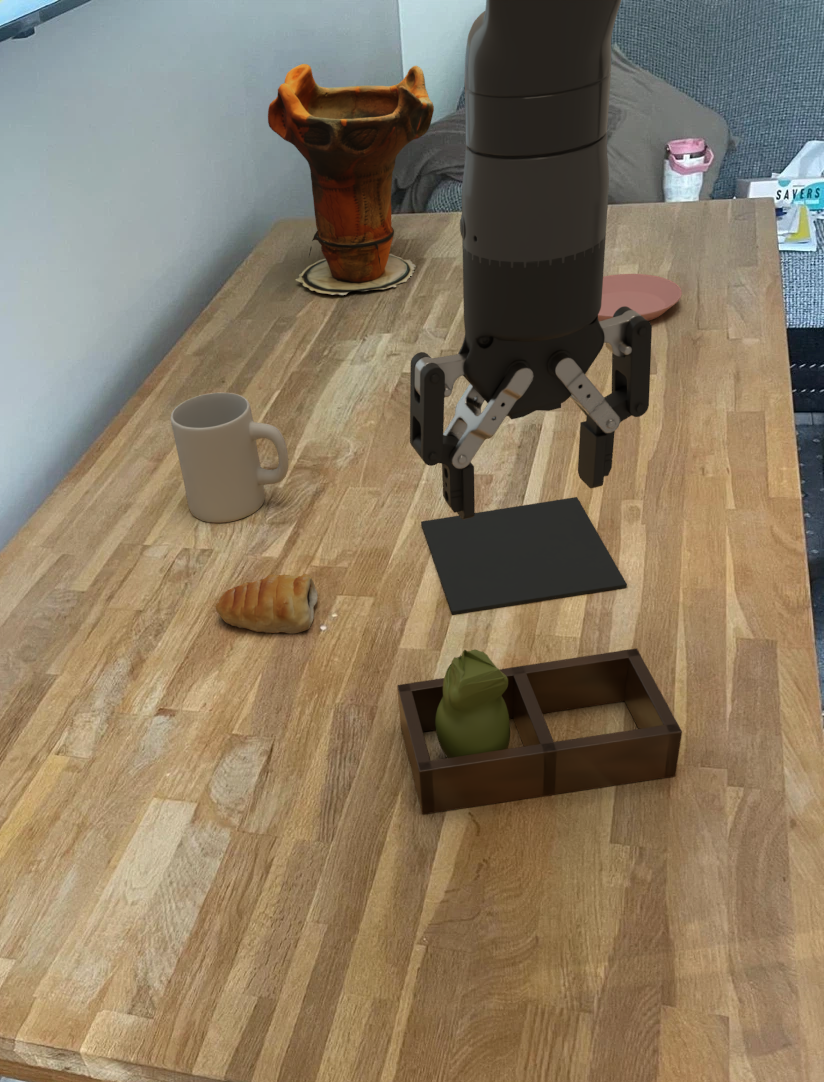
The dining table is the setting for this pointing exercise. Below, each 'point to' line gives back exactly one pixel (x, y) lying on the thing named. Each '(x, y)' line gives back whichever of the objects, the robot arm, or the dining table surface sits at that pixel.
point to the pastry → (271, 604)
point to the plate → (638, 295)
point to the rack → (547, 735)
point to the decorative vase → (352, 171)
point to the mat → (520, 556)
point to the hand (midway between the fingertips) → (527, 497)
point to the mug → (224, 456)
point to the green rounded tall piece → (473, 707)
